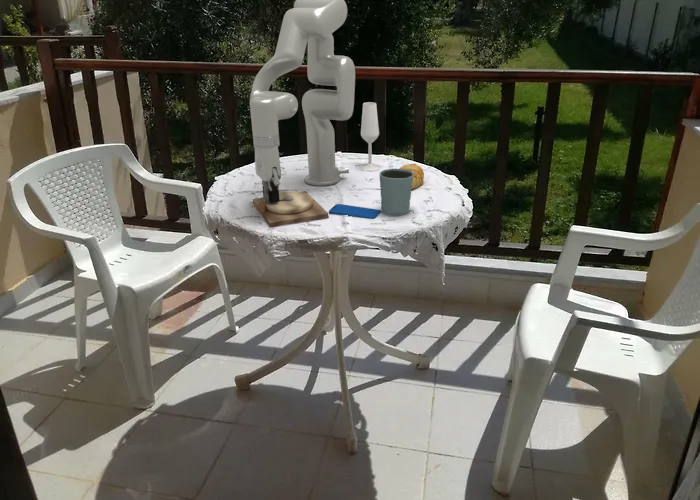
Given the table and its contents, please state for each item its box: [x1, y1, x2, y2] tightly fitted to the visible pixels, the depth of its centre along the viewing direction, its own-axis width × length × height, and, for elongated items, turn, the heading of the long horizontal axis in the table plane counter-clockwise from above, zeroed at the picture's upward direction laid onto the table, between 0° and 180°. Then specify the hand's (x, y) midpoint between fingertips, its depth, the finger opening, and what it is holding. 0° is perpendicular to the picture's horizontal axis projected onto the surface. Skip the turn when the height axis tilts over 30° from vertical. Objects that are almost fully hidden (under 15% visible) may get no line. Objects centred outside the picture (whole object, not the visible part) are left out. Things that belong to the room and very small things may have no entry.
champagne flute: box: [360, 101, 380, 172], centre depth 216 cm, size 7×7×24 cm
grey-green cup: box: [378, 168, 414, 217], centre depth 179 cm, size 10×10×12 cm
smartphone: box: [328, 203, 382, 220], centre depth 181 cm, size 7×1×15 cm
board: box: [251, 190, 330, 228], centre depth 183 cm, size 18×22×4 cm
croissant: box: [398, 163, 425, 190], centre depth 204 cm, size 21×10×8 cm, turn 164°
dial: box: [262, 178, 314, 214], centre depth 181 cm, size 15×15×9 cm
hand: (271, 199), depth 180 cm, fingers closed on dial, 4 cm apart
